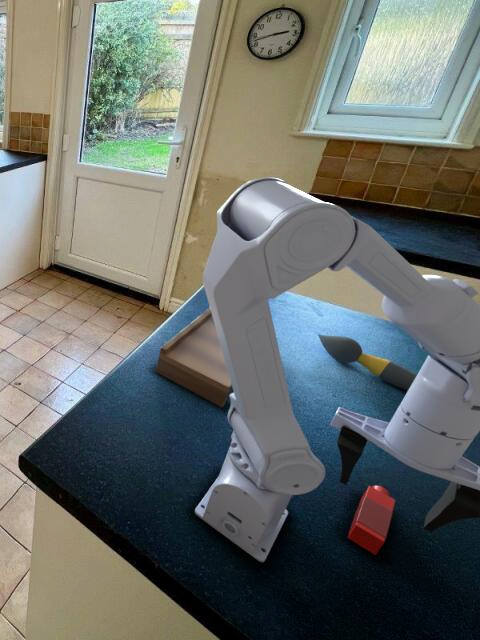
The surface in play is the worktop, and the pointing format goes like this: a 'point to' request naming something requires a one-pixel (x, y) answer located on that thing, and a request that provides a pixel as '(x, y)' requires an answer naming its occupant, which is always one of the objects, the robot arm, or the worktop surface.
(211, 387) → the shelf
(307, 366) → the worktop surface
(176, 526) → the worktop surface
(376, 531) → the red rectangular prism
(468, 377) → the robot arm
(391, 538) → the worktop surface
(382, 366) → the paintbrush
